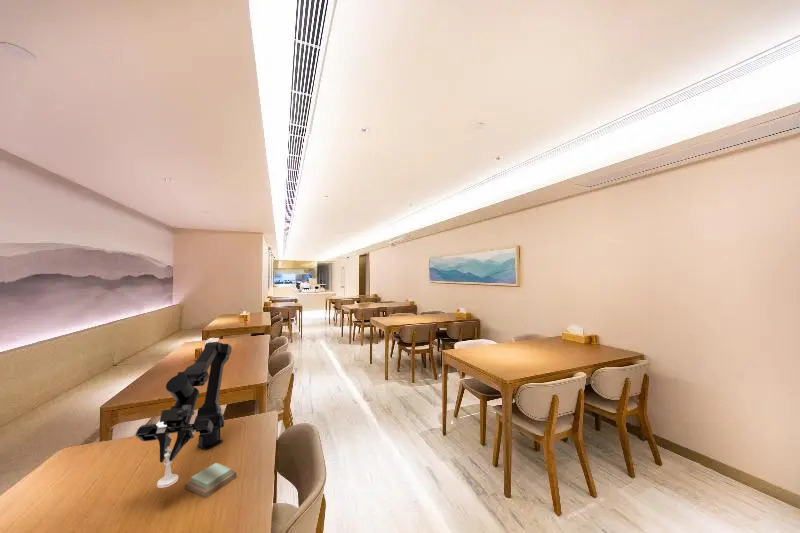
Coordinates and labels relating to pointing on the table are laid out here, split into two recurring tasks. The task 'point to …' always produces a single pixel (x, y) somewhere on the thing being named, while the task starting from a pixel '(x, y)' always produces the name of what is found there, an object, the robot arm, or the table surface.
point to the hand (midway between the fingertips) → (165, 461)
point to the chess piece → (167, 472)
